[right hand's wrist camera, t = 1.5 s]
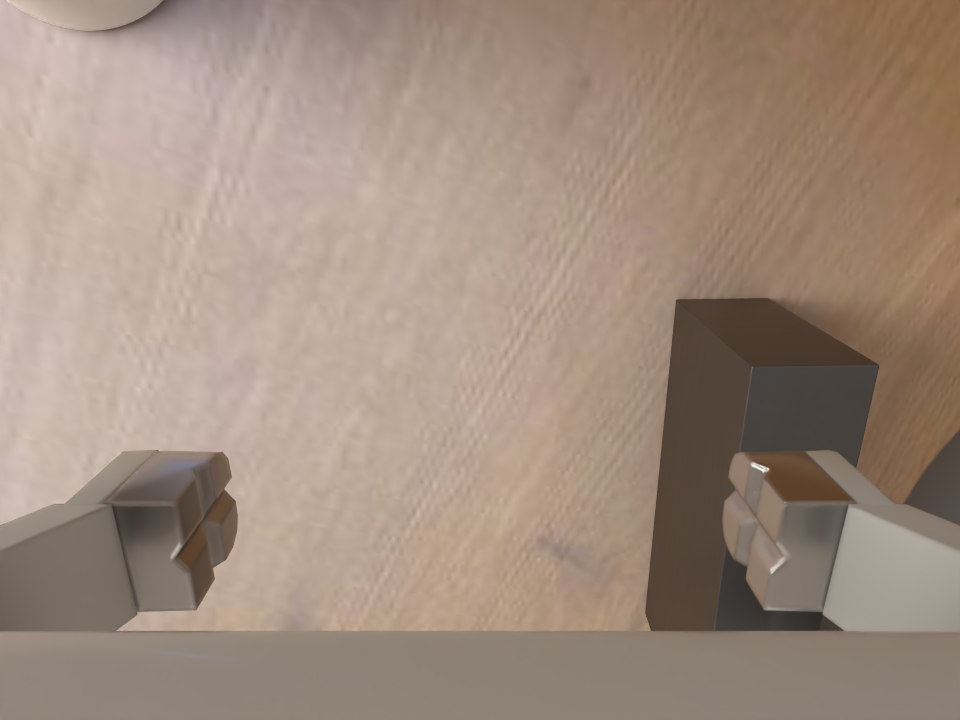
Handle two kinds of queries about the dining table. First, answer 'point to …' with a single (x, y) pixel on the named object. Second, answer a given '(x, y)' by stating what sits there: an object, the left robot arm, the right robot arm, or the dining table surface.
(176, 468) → the right robot arm
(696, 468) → the box
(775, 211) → the dining table surface
